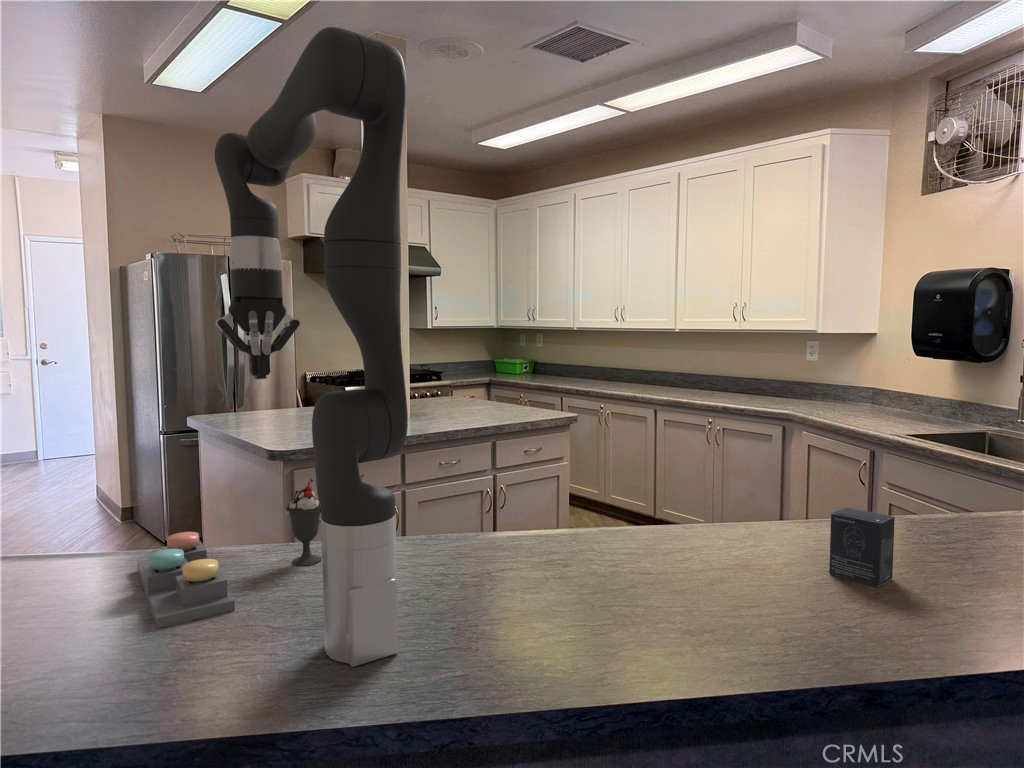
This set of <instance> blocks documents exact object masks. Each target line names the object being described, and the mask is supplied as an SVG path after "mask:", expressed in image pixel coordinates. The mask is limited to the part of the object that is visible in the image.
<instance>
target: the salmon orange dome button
mask: <svg viewBox="0 0 1024 768" xmlns="http://www.w3.org/2000/svg"><path fill="white" fill-rule="evenodd" d="M199 541H200V534H199V532H195V531H183V532H178V533H174V534H173V533H172V534H171V535H168V536H167V538H166V542H167V543H166V546H167V548H168V549H181V550H183V551H184V552H185V551H190V550H192V548H194V547H196V546H198V545H199Z"/></svg>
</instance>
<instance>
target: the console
mask: <svg viewBox="0 0 1024 768" xmlns="http://www.w3.org/2000/svg"><path fill="white" fill-rule="evenodd" d="M160 548H161V549H160V550H165V549H168V548H167V545H166V546H161V547H160ZM207 555H208V554H207V549H206V548H205V545H204V544H203V542H202V541H201V540H199V545H198V546H196V547H194V548H192V550H190V551H185V552H184V563H183V564H181V565H180V566H177V567H176V569H174V570H168V571H163V572H158V570H155V569H151V568H149V559H148V560H143V561H138V562H136V567H137V573H138V576H139V579H140V582H141V585H142V587H143V592H144V593H145V596H146V600H147V603H148V605H149V609H150V611H151V615H152V617H153V621H154V623H155V626H156V629H161V628H165V627H169V626H170V627H171V626H174V625H177V624H182V623H186V622H190V621H194V620H195V621H196V620H199V619H204V618H208V617H212V616H216V615H221V614H224V613H229V612H233V611H235V609H236V608H235V606H236V605H235V599H234V598H233V596H232V594H231V593H230V592H229V590H228V579H227V578H226V576H225V575H224V573H223V572H222V570H221V569H220V568H219V567H218V570H219V573H218V575H216V576H215V577H213V578H210V581H205V582H200V583H195V584H192V581H186V580H184V579H183V572H182V566H183V565H184V564H186V563H188V562H191V561H195V560H200V559H208V556H207Z"/></svg>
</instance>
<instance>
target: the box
mask: <svg viewBox="0 0 1024 768" xmlns="http://www.w3.org/2000/svg"><path fill="white" fill-rule="evenodd" d="M895 519H896V518H895V516H893V515H887V514H882V513H877V512H872V511H869V510H868V511H867V510H862V509H856V508H852V507H844V508H841V509H838V510H836V511H832V512H831V514H830V537H829V538H830V539H829V540H830V542H829V570H828V571H829V574H830V575H833V576H836V575H837V577H840V578H843V577H844V579H848V580H851V581H854V580H855V581H854V582H858V583H863V584H865V585H869V586H873V587H877V588H879V587H881V585H882V586H883V585H885V584H886V583H888V582H890V581H892V579H893V570H894V569H893V566H894V543H895V539H894V538H895V521H896V520H895Z"/></svg>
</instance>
